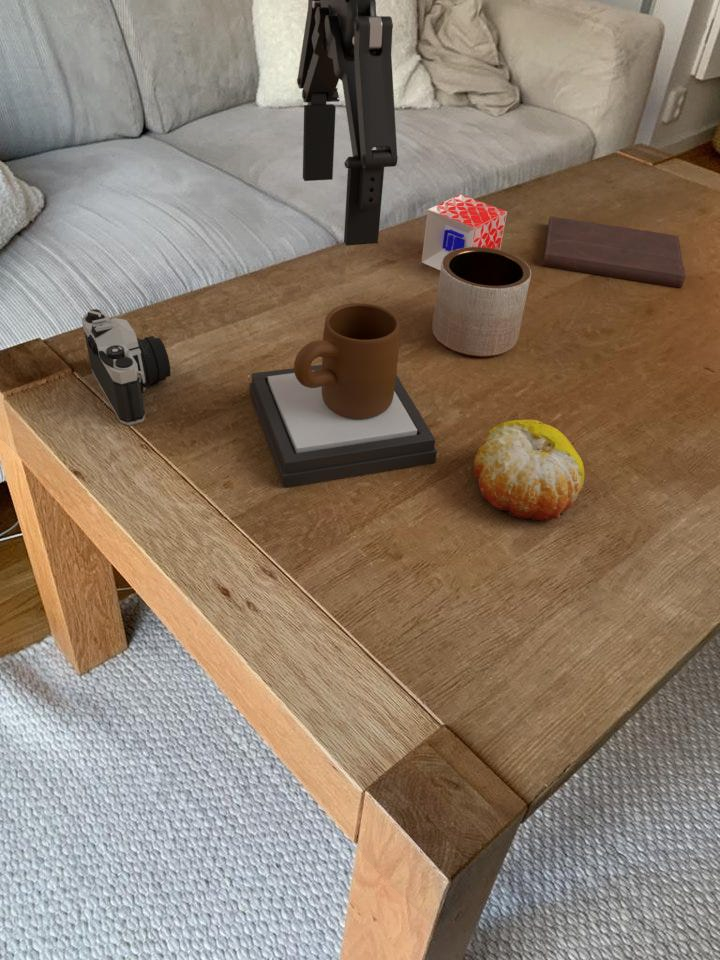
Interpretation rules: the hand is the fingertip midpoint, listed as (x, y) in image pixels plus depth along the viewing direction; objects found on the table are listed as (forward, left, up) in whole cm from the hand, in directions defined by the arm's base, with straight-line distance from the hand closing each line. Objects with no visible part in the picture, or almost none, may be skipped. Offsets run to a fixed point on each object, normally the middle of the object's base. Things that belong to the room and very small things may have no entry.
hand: (337, 209), depth 72 cm
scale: (+1, -1, -24) cm, 24 cm away
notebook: (+53, +30, -24) cm, 66 cm away
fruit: (+16, -15, -24) cm, 32 cm away
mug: (+1, -2, -21) cm, 21 cm away
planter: (+23, +13, -24) cm, 36 cm away
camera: (-19, +11, -24) cm, 33 cm away
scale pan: (+1, -1, -22) cm, 22 cm away
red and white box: (+29, +32, -24) cm, 50 cm away
